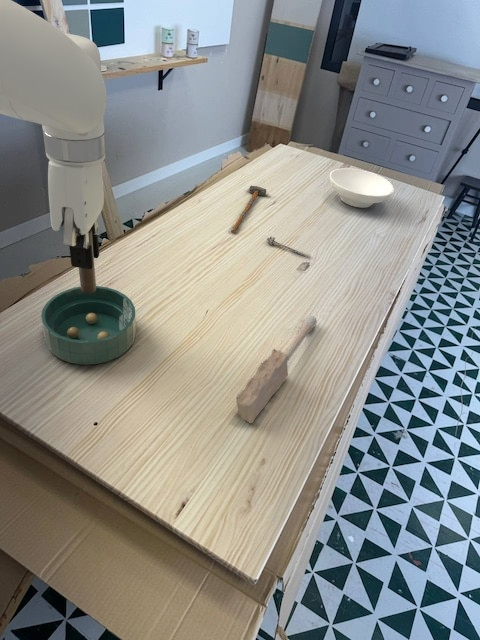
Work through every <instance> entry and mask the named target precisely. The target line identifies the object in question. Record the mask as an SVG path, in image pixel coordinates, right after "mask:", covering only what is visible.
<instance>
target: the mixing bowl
mask: <svg viewBox="0 0 480 640" xmlns="http://www.w3.org/2000/svg"><path fill="white" fill-rule="evenodd" d="M89 313H94V314H96V315H97V321H96V322H95V323H94V324H89V323H88V322H87V321H86V316H87V314H89ZM40 320H41V325H42V330H43V337H44V341H45V345H46V347H47V349H48V350H49V351H50V352H51V354H52V355H54V356H55V357H56V358H58V359H60V360H62V361H65V362H67V363H69V364H70V363H71V364H77V365H98V364H102V363H106V362H110V361H112V360H114V359H117V358H119V357H120V356H122V355H123V354H125V353H126V352H127V351H128V350H129V349H130V347H131V346H132V345H133V344H134V342H135V340H136V339H135V338H136V333H137V332H136V307H135V305H134V303H133V301H132V300H131V299H130V298H129V297H128V296H127V295H126V294H124V293H123V292H121V291H119V290H117V289H114V288H111V287H107V286H100V285H96V291H95V292H93V293H84V292H82V291H81V286H75V287H72V288H69V289H65V290H63V291H61V292H59V293H57V294H55V295H54V296H52V297H51V298H50V299H49V300H48V301H46V303H45V304H44V306H43V308H42V310H41V316H40ZM71 327H76V328H77V329H78V330H79V336H78V337H77V338H74V339H72V338H70V337H68V335H67V331H68V329H69V328H71ZM102 331H105V332H107V333H108V334H109V337H106V338H102V339H98V338H97V337H98V334H99V333H100V332H102Z"/></svg>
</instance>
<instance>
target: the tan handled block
mask: <svg viewBox="0 0 480 640" xmlns="http://www.w3.org/2000/svg"><path fill="white" fill-rule="evenodd" d="M317 323H318V321H317V318H316V316H313V315H308V316H307V317H306V318H305V319H304V321H303V323H302V324H301V328H300V329H299V330H298V332H297V333H296V335H295V337H294V338H293V339H292V341H291V343H290V344H289V345H288V347H287V348H286V350H285V351H284V352H283V351H281V350H276V348H273V349H272V351H271V354H270V355H269V356H268V358H267V359H264V360H263V361H262V362H261V363H260V364H259V366H258V367H257V369H256V372H255V374H254V375H253V377H251V378H250V379H249V380H248V381H247V383H246V385H245V388H244V389H242V390H241V391H240V392H239V394H237V396H236V400H235V401H236V405H237V411H238V414H239V416H240V418H241V419H242V420H244V421H246V422H247V423H249V424H253V423H254V421H255V420H256V418H257V417H258V415H259V414H260V413H261V411H262V410H263V409H264V407H266V405H267V403H268V402H269V401H270V400H271V398H272V396H274V394H276V393H277V391H278V390H279V389H280V387H281V386H282V384H283V383H284V382H285V381H286V380H287V378H288V376H289V371H288V361H289V360H290V358H291V357H292V355H293V354H294V353H295V351H296V350H297V348H298V347H299V346H300V344H301V343H302V341H303V340H304V338H305V337H306V336H307V334H308V333H309V332H311V331H312V330H313V329H314V327H315V326H316V325H317Z"/></svg>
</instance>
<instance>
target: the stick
mask: <svg viewBox="0 0 480 640" xmlns="http://www.w3.org/2000/svg"><path fill="white" fill-rule="evenodd" d="M88 233H89V245H91V246H92V256H93V268H92V269H85V268H78V273H79V275H78V276H79V283H80V287H81V291H82V292H84V293H93V292H95V291H96V286H97V279H96V268H95V266H96V265H95V258H94V252H93V239H92V229H90V230H89V231H88ZM75 236H80V237H82V235H81V234H80V233H75Z"/></svg>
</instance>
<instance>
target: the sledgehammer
mask: <svg viewBox="0 0 480 640" xmlns="http://www.w3.org/2000/svg"><path fill="white" fill-rule="evenodd" d="M248 193H249V194H252V196H251V197H250V198H249V200H248V202H247V203H246V206H245V207H244V209H243V211H242V212H241V214H240V216H239V217H238V219H237V220H236V222H235V224H234V226H233V227H232V229H231V233H233V234H235V232H237V231H236V230H237V229H238V227H239V225H240V224H241V222H242V221H243V219H244V218H245V216H246V214H247V213H248V211H249V209H250V208H251V207H252V205H253V204H254V202H255V200H256V199H257V197H258V196H261V197H265V196H266V195H267V189H266V188H263V187H261V186H257V185H250V186H249V188H248Z"/></svg>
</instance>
